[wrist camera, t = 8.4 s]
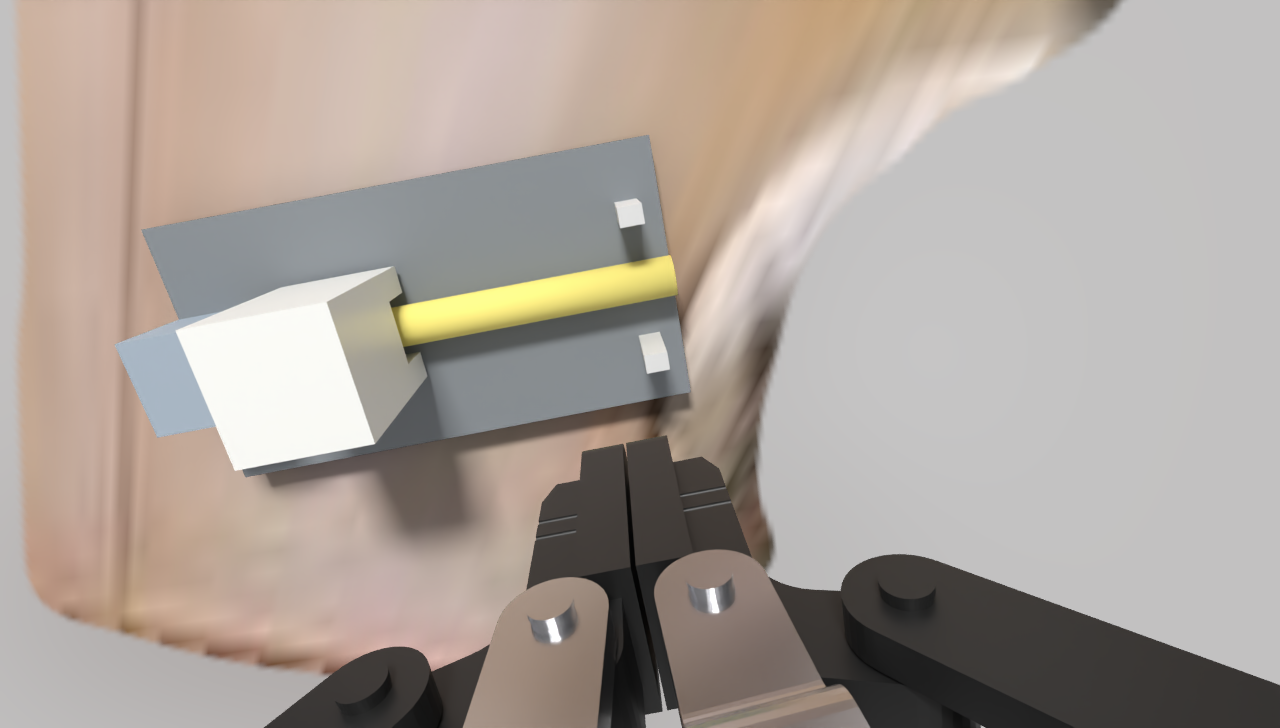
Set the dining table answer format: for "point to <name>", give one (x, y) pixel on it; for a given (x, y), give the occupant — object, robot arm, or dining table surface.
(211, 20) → the dining table surface
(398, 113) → the dining table surface
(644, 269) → the linear slide rail
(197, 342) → the sleeve
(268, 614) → the dining table surface
